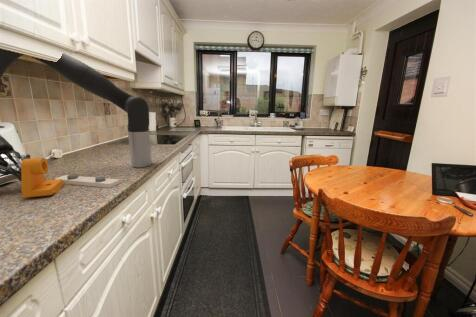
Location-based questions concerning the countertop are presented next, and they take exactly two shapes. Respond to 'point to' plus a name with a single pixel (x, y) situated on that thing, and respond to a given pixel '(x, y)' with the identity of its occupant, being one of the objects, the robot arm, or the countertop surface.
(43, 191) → the bracket
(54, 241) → the countertop surface
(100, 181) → the board
